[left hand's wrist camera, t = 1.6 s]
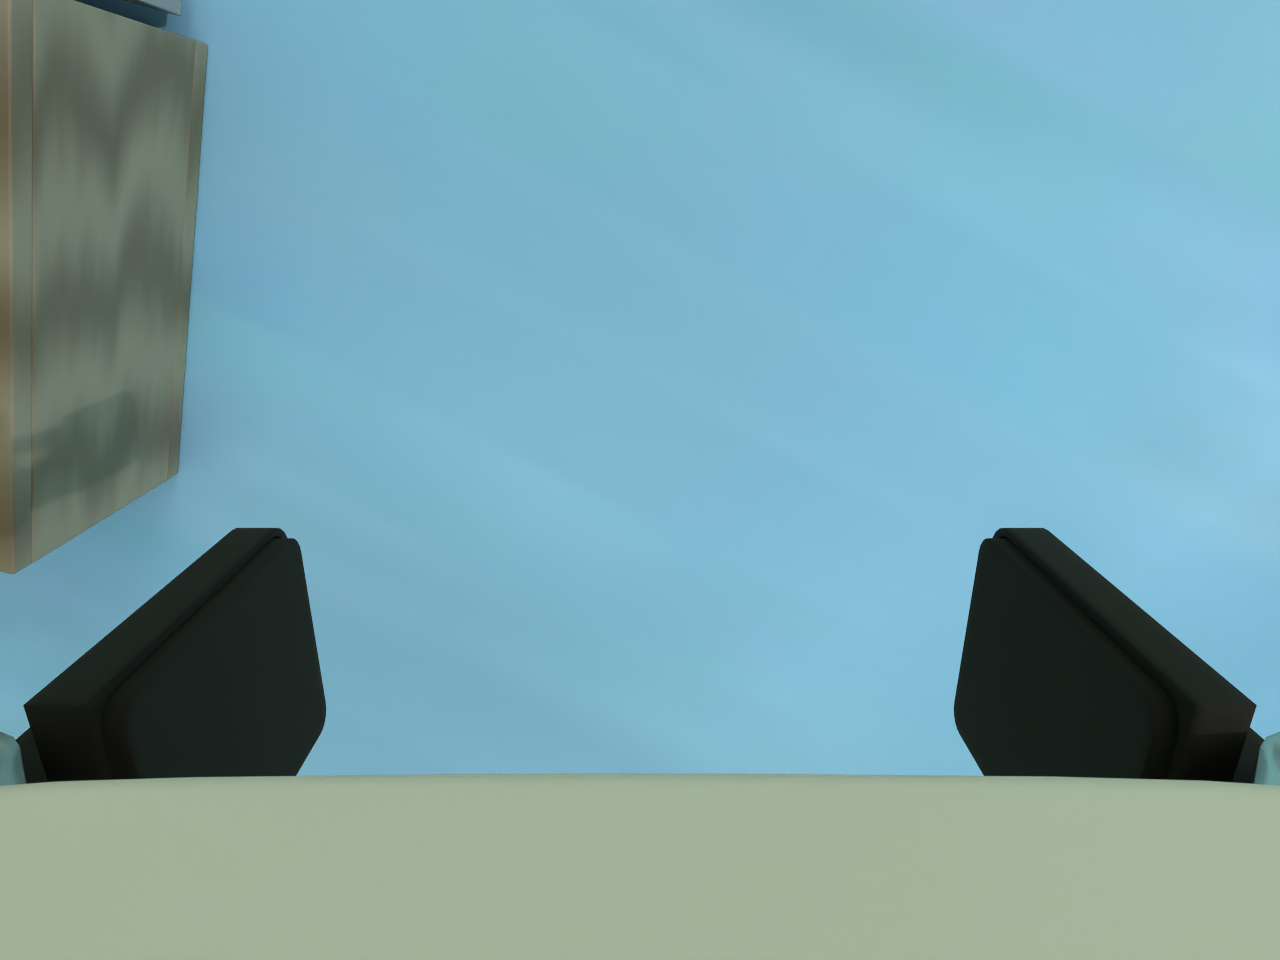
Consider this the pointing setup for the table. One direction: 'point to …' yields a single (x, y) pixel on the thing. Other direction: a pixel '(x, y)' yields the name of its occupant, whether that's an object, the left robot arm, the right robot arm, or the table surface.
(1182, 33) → the table surface
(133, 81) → the cabinet
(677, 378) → the table surface
